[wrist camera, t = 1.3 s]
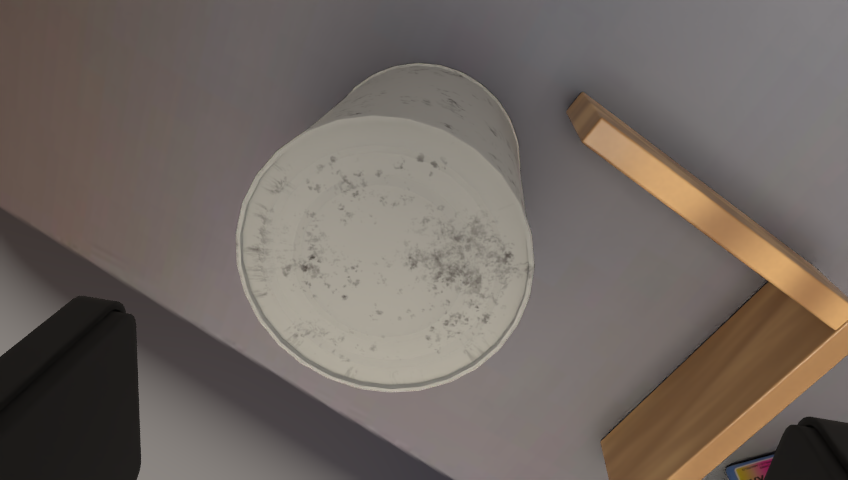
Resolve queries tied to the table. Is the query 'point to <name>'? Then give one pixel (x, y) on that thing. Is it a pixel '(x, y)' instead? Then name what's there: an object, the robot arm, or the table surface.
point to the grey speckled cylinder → (392, 234)
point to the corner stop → (734, 341)
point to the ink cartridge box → (750, 469)
